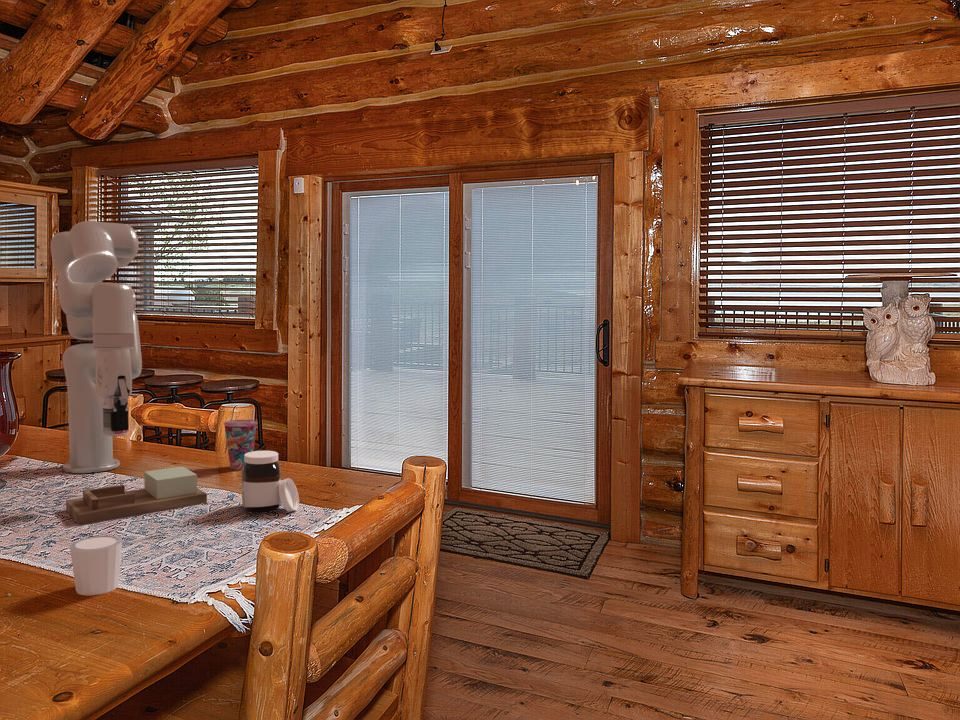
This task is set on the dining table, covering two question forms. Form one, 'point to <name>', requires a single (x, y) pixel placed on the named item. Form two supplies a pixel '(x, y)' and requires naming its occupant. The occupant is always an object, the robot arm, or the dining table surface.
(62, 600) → the dining table surface
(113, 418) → the robot arm
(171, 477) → the pale green block
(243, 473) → the spread jar
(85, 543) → the white tapered cylinder
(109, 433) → the pill bottle
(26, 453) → the dining table surface
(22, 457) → the dining table surface
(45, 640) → the dining table surface
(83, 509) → the housing
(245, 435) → the cup
